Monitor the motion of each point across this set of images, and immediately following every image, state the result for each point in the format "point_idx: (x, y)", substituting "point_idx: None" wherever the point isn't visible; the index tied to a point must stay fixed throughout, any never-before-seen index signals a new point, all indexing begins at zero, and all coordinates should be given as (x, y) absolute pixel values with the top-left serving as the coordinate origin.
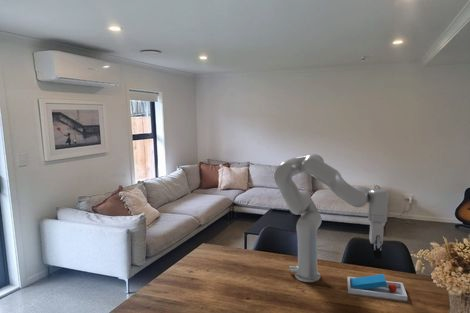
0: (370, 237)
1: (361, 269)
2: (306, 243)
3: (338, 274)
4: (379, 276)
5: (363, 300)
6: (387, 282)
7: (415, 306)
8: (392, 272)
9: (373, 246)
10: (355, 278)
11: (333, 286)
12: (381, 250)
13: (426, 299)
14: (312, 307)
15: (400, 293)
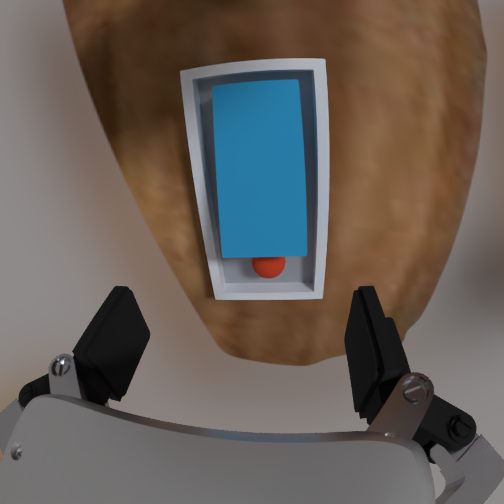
0: (55, 479)
1: (452, 148)
2: None
3: (379, 30)
4: (284, 230)
5: (161, 139)
6: (316, 247)
7: (201, 302)
8: (433, 266)
9: (358, 331)
10: (293, 97)
11: (240, 7)
12: (111, 397)
13: (257, 333)
14: (68, 6)
15: (261, 277)
